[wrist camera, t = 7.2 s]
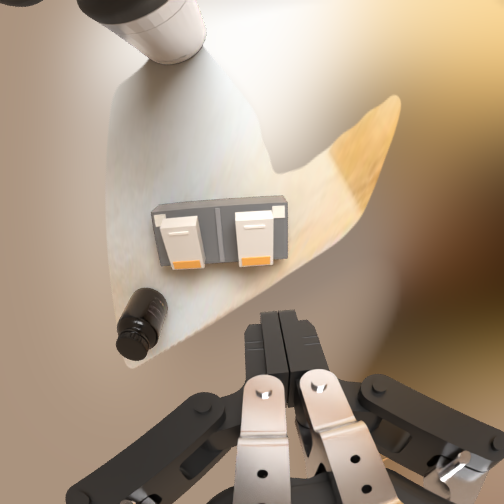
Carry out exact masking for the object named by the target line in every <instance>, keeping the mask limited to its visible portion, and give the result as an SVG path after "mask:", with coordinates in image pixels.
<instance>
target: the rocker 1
mask: <svg viewBox="0 0 504 504" xmlns="http://www.w3.org/2000/svg"><path fill="white" fill-rule="evenodd" d="M160 231H161V234H162V238H163V241H164V244H165V248H166V251H167V254H168V257H169V260H170V263H171V267H172V270H181V269H199V268H205V253H204V248H203V243H202V238H201V232H200V227H199V222H198V216H189V217H177V218H166V219H163V220H162V223H161V226H160Z"/></svg>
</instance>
